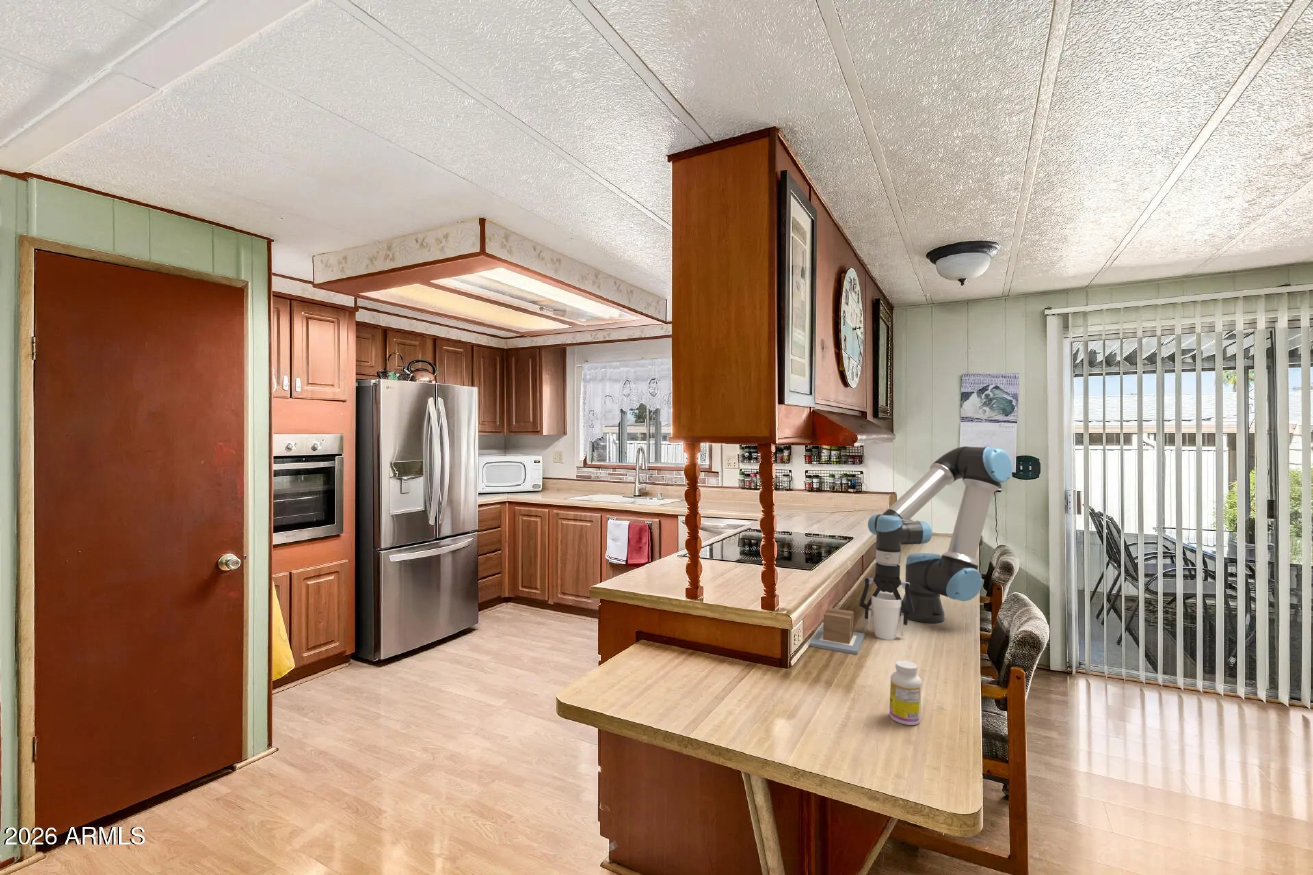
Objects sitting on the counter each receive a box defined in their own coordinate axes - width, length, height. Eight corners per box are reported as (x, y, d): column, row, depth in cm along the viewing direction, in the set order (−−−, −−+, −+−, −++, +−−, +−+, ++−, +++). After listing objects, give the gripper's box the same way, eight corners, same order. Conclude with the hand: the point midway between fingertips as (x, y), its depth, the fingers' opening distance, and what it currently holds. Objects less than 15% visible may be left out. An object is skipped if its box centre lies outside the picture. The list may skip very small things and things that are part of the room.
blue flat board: (820, 629, 200) (820, 625, 200) (864, 636, 194) (864, 633, 194) (810, 646, 184) (810, 642, 184) (857, 654, 178) (857, 650, 178)
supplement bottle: (894, 709, 143) (896, 656, 142) (923, 718, 138) (925, 663, 138) (885, 719, 137) (887, 664, 137) (915, 729, 133) (917, 672, 133)
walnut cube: (827, 631, 194) (828, 607, 194) (852, 636, 191) (853, 611, 191) (822, 639, 187) (823, 614, 187) (849, 644, 183) (850, 618, 183)
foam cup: (863, 633, 197) (865, 594, 197) (884, 630, 201) (886, 591, 201) (885, 642, 189) (887, 602, 188) (907, 639, 193) (908, 599, 192)
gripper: (851, 561, 196) (848, 629, 196) (924, 569, 186) (921, 641, 187) (854, 557, 203) (852, 622, 203) (924, 565, 193) (922, 634, 193)
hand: (885, 631), depth 195 cm, fingers closed on foam cup, 9 cm apart
